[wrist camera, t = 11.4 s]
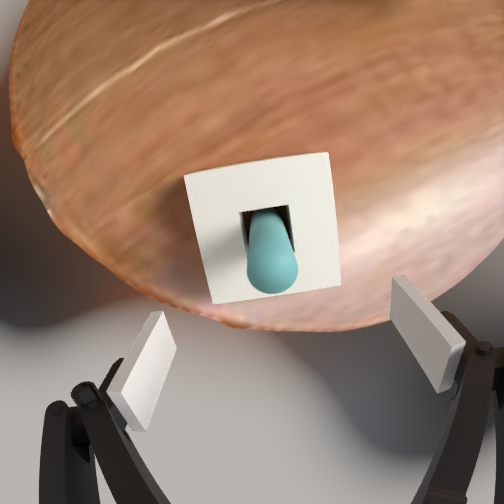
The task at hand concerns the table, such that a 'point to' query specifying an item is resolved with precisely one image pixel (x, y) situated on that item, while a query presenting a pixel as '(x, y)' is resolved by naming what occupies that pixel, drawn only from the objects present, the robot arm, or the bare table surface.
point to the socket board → (258, 197)
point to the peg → (270, 253)
